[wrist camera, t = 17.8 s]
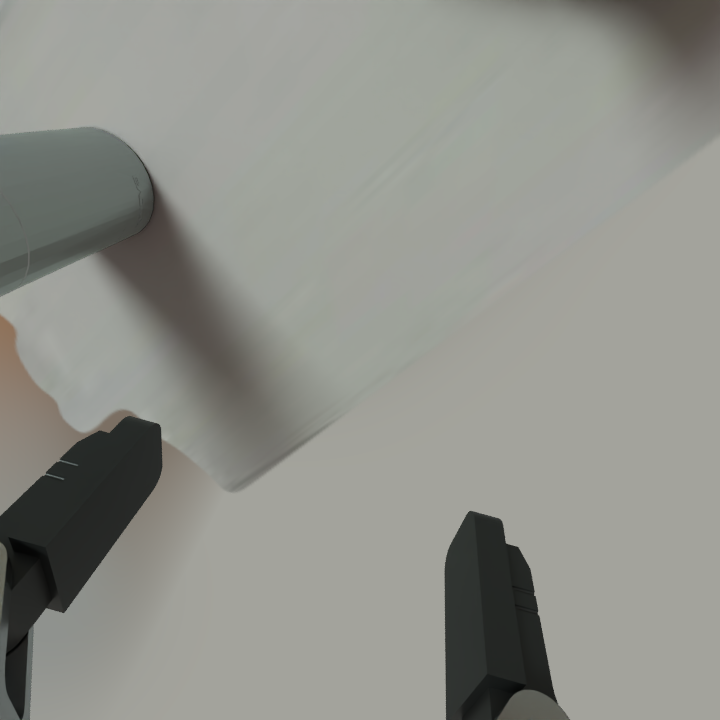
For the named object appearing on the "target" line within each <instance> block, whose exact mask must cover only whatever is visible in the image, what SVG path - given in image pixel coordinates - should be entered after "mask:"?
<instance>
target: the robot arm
mask: <svg viewBox="0 0 720 720" xmlns="http://www.w3.org/2000/svg"><path fill="white" fill-rule="evenodd" d="M153 201H154V198H153V190H152V185H151V182H150V179H149V176H148V174H147V172H146V170H145V168H144V166H143V164H142V162H141V161H140V160H139V158H138V157H137V155H136V154H135V153H134V152H133V151H132V150H131V149H130V148H129V147H128V146H127V145H126V144H125V143H124V142H123V141H121V140H120V139H119V138H117V137H116V136H114V135H112V134H110V133H108V132H106V131H104V130H101V129H97V128H93V127H81V128H71V129H60V130H47V131H36V132H26V133H15V134H5V135H0V297H1V296H3V295H5V294H7V293H9V292H11V291H13V290H15V289H17V288H20V287H22V286H24V285H26V284H28V283H31V282H33V281H35V280H37V279H39V278H41V277H44V276H46V275H48V274H50V273H52V272H54V271H57V270H59V269H61V268H63V267H65V266H67V265H70V264H72V263H74V262H76V261H78V260H80V259H83V258H85V257H87V256H89V255H91V254H94V253H96V252H98V251H100V250H102V249H104V248H107V247H109V246H111V245H113V244H115V243H118V242H120V241H122V240H124V239H126V238H128V237H130V236H132V235H134V234H136V233H139V232H140V231H141V230H142V229H143V228H144V227H145V226H146V225H147V223H148V222H149V220H150V218H151V214H152V211H153ZM161 471H162V442H161V427H160V425H159V424H157V423H153V422H150V421H146V420H142V419H139V418H135V417H132V416H128V417H125V418H124V419H123V420H122V421H121V422H120V423H119V424H118V425H117V426H116V427H115V428H114V429H113V430H112V431H111V432H110V433H107V432H103V431H98V432H96V433H94V434H92V435H90V436H88V437H86V438H85V439H83V440H81V441H79V442H77V443H76V444H75V445H74V446H73V447H72V448H71V449H70V450H69V451H68V452H67V453H66V454H64V455H63V456H62V457H61V459H60V461H59V462H56V463H55V464H54V465H53V466H52V467H51V468H50V469H49V470H48V471H47V472H46V475H45V476H42V477H40V479H38V480H37V481H36V482H35V483H34V484H33V485H32V486H31V487H30V488H29V489H28V490H27V491H26V492H25V493H24V494H23V495H22V496H21V497H20V498H19V499H18V500H17V501H16V502H14V503H13V504H12V505H11V506H10V507H9V508H8V510H6V511H5V512H4V513H3V514H2V515H1V516H0V720H30V700H31V679H32V654H33V633H34V628H33V624H34V623H35V622H36V621H37V619H38V618H39V617H40V615H41V614H42V613H43V611H44V610H45V609H46V608H48V609H52V610H55V611H59V612H62V613H64V612H65V611H66V610H67V608H68V607H69V606H70V604H71V603H72V601H73V600H74V599H75V597H76V596H77V595H78V593H79V592H80V590H81V589H82V587H83V586H84V585H85V583H86V582H87V581H88V579H89V578H90V577H91V575H92V574H93V572H94V571H95V570H96V568H97V567H98V566H99V564H100V563H101V561H102V560H103V559H104V557H105V556H106V554H107V553H108V552H109V550H110V549H111V548H112V546H113V545H114V543H115V542H116V541H117V539H118V538H119V536H120V535H121V534H122V532H123V531H124V529H125V528H126V527H127V525H128V524H129V523H130V521H131V520H132V519H133V517H134V516H135V514H136V513H137V511H138V510H139V509H140V508H141V506H142V505H143V503H144V502H145V501H146V499H147V498H148V496H149V495H150V494H151V492H152V491H153V489H154V488H155V486H156V484H157V482H158V480H159V478H160V475H161ZM445 648H446V649H445V652H446V720H570V719H569V718H568V716H567V715H566V713H565V712H564V711H563V709H562V708H561V707H560V706H559V705H558V703H557V700H556V697H555V694H554V690H553V686H552V680H551V676H550V670H549V665H548V660H547V655H546V649H545V644H544V639H543V633H542V628H541V623H540V617H539V615H538V607H537V602H536V597H535V596H534V586H533V581H532V576H531V570H530V568H529V566H528V564H527V562H526V560H525V559H524V557H523V555H522V553H521V551H520V550H519V548H518V547H516V546H512V545H508V544H506V542H505V535H504V528H503V523H502V521H501V520H500V519H499V518H495V517H491V516H488V515H484V514H480V513H477V512H473V511H469V512H468V514H467V515H466V517H465V519H464V521H463V522H462V524H461V526H460V528H459V530H458V532H457V534H456V535H455V538H454V539H453V541H452V543H451V545H450V547H449V550H448V553H447V557H446V562H445Z"/></svg>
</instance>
